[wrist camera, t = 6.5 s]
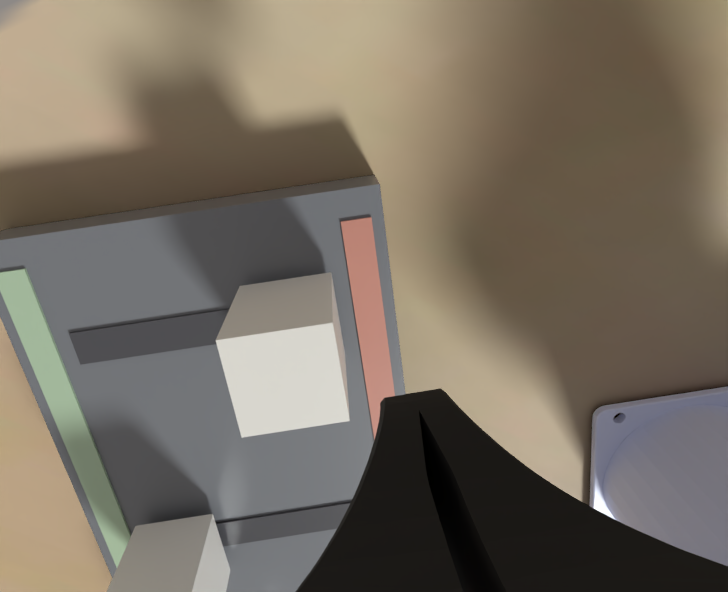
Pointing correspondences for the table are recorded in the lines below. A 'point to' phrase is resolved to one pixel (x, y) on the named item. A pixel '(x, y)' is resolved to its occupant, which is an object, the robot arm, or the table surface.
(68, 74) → the table surface
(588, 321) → the table surface
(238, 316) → the switch
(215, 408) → the panel
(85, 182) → the table surface
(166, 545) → the switch middle
